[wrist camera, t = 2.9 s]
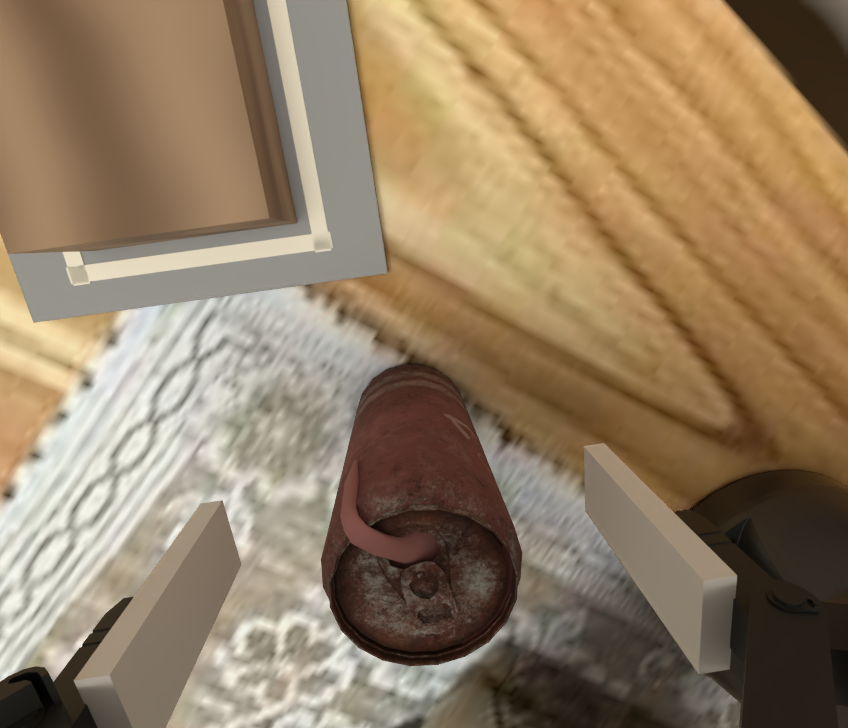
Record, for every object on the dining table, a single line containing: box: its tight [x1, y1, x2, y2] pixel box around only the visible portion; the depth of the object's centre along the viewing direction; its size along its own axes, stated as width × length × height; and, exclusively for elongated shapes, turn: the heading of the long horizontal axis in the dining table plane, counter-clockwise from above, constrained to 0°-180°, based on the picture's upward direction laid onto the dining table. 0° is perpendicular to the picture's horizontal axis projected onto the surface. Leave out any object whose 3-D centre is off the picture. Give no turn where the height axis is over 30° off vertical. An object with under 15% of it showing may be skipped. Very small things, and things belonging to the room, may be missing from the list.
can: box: [321, 365, 522, 666], centre depth 19 cm, size 6×6×14 cm
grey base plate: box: [0, 0, 388, 322], centre depth 21 cm, size 18×16×1 cm
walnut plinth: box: [0, 0, 297, 254], centre depth 18 cm, size 10×10×5 cm
